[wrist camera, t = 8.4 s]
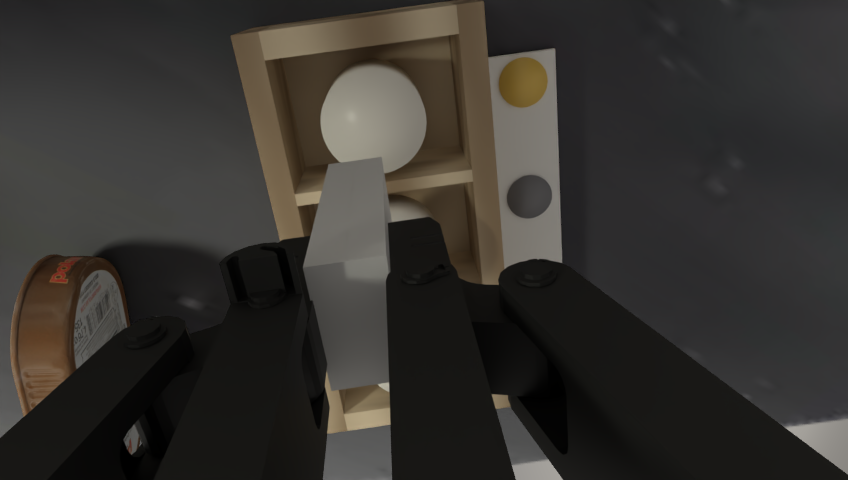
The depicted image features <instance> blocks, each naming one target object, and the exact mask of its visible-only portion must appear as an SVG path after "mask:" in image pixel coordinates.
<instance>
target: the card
mask: <svg viewBox="0 0 848 480" xmlns="http://www.w3.org/2000/svg"><path fill="white" fill-rule="evenodd" d="M488 62H489V75H490V88H491V101H492V114H493V127H494V140H495V153H496V166H497V179H498V192H499V205H500V218H501V231H502V244H503V257H504V269H505V268H507V267H508V266H510V265H513V264H516V263H518V262H522V261H528V260H529V259H537V260H539V259H547V260H550V261H555V262H560V263H562V241H561V211H560V180H559V149H558V119H557V88H556V58H555V49H554V48H550V49H543V50H536V51H528V52H521V53H514V54H507V55H499V56H492V57H488Z"/></svg>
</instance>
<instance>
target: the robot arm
mask: <svg viewBox="0 0 848 480" xmlns="http://www.w3.org/2000/svg"><path fill="white" fill-rule="evenodd" d="M219 265H220V268H221V272H222V275H223V278H224V282H225V285H226V289H227V292H228V295H229V299H230V302H231V305H230V307H229V310H228V312H227V314H226V317H225V319H224V321H223V323H222V324H219V325H217V326H214V327H211V328H208V329H205V330H202V331H198V332H195V333H192V334H189V333H188V330H187V327H186V324H185V321H183V320H182V319H180V318H179V317H172V316H163V317H150V318H146V320H145V319H143V320H140V321H137V322H135V323H134V324H133V325H131V326H129V327H127V328H125V329H123V330H122V331H120V332H119V333H117V334H116V335H115V336H113V337H112V338H111V339H110V340H109V341H107V342H106V343H105V344H104V345H103V346H102V347H101V348H100V349H99V350H97V351H96V352H95V353H94V354H93V355H92V356H91V357H90V358H89V359H87V360H86V361H85V362H84V363H83V364H82V365H81V366H80V367H79V368H78V369H76V370H75V371H74V372H73V373H72V374H71V375H70V376H69V377H68V378H66V379H65V380H64V381H63V382H62V383H61V384H60V385H59V386H58V387H56V388H55V389H54V390H53V391H52V392H51V393H50V394H49V395H48V396H46V397H45V398H44V399H43V400H42V401H41V402H40V403H39V404H38V405H36V406H35V407H34V408H33V409H32V410H31V411H30V412H29V413H28V414H27V415H25V416H24V417H23V418H22V419H21V420H20V421H19V422H18V423H17V424H15V425H14V426H13V427H12V428H11V429H10V430H9V431H8V432H7V433H5V434H4V435H3V436H2V437H1V438H0V480H323V471H324V461H325V451H326V441H327V431H328V421H329V411H330V406H329V401H328V397H327V393H326V388H325V380H326V372H327V374H328V379H329V383H330V387H331V391H335V390H342V389H348V388H355V387H361V386H368V385H375V384H381V383H388V382H389V393H390V423H391V453H392V480H516V479H515V476H514V472H513V469H512V465H511V461H510V458H509V454H508V451H507V447H506V444H505V440H504V436H503V433H502V429H501V426H500V422H499V419H498V415H497V412H496V408H495V404H494V401H493V397H492V394H497V395H508V401H509V403H510V406H511V408H512V410H513V411H514V413H515V414H516V415H517V417H518V418H519V419H520V421H521V422H522V424H523V425H524V426H525V428H526V429H527V430H528V432H529V433H530V435H531V436H532V437H533V439H534V440H535V441H536V443H537V444H538V446H539V447H540V448H541V450H542V451H543V452H544V454H545V455H546V457H547V458H548V459H549V461H550V462H551V463H552V465H553V466H554V468H555V469H556V470H557V472H558V473H559V474H560V476H561V477H562V479H563V480H848V475H847V474H846V473H845V472H843V471H842V470H841V469H839V468H838V467H837V466H835V465H834V464H833V463H831V462H830V461H829V460H827V459H826V458H825V457H823V456H822V455H821V454H819V453H818V452H816V451H815V450H814V449H812V448H811V447H810V446H809V445H807V444H806V443H805V442H803V441H802V440H800V439H799V438H798V437H797V436H795V435H794V434H792V433H791V432H790V431H788V430H787V429H786V428H784V427H783V426H782V425H780V424H779V423H778V422H776V421H775V420H774V419H772V418H771V417H770V416H768V415H767V414H766V413H764V412H763V411H762V410H760V409H759V408H758V407H756V406H755V405H754V404H752V403H751V402H750V401H748V400H747V399H746V398H744V397H743V396H742V395H740V394H739V393H738V392H736V391H735V390H734V389H732V388H731V387H730V386H728V385H727V384H726V383H724V382H723V381H722V380H720V379H719V378H718V377H716V376H715V375H714V374H712V373H711V372H709V371H708V370H707V369H705V368H704V367H703V366H701V365H700V364H699V363H697V362H696V361H695V360H693V359H692V358H691V357H689V356H688V355H687V354H685V353H684V352H683V351H681V350H680V349H679V348H677V347H676V346H675V345H673V344H672V343H671V342H669V341H668V340H667V339H665V338H664V337H663V336H661V335H660V334H659V333H657V332H656V331H655V330H653V329H652V328H651V327H649V326H648V325H647V324H645V323H644V322H643V321H641V320H640V319H639V318H637V317H636V316H635V315H633V314H632V313H630V312H629V311H628V310H626V309H625V308H624V307H622V306H621V305H620V304H618V303H617V302H616V301H614V300H613V299H612V298H610V297H609V296H608V295H606V294H605V293H604V292H602V291H601V290H600V289H598V288H597V287H596V286H594V285H593V284H592V283H590V282H589V281H588V280H586V279H585V278H584V277H582V276H581V275H580V274H578V273H577V272H576V271H574V270H573V269H572V268H570V267H568V266H566V265H564V264H562V263H560V262H555V261H550V260H547V259H539V260H537V259H529V260H528V261H522V262H518V263H516V264H513V265H510V266H508V267H507V268H505V269H504V270H503V271H502V272H500V275H499V278H498V283H499V285H486V284H476V283H472V282H468V281H465V280H463V279H461V278H459V277H458V273H457V270H456V269H455V267H454V266H453V265H452V264H451V262H450V259H449V255H448V251H447V248H446V244H445V240H444V237H443V233H442V229H441V226H440V223H438V222H437V221H435V220H433V219H432V218H430V217H424V218H417V219H410V220H403V221H396V222H392V219H391V212H390V206H389V200H388V193H387V187H386V181H385V174H384V168H383V162H382V157H377V158H370V159H363V160H356V161H349V162H341V163H334V164H329V165H328V169H327V173H326V177H325V181H324V185H323V189H322V193H321V197H320V201H319V205H318V209H317V213H316V217H315V221H314V225H313V229H312V233H311V236H304V237H297V238H291V239H284V240H281V241H280V242H279V243H276V242H275V243H262V244H257V245H253V246H248V247H246V248H243V249H240V250H238V251H235V252H233V253H232V254H230V255H228V256H227V257H225V258H224V259H223V260H222V261H221V262H220V263H219ZM133 425H135V427H136V430H137V432H138V435H139V437H140V440H141V442H142V444H141V445H140V447H139V448H138V449H137V450H136V452H134V453H133V454H132V455H131V454H130V453H129V451H128V449H127V447H126V445H125V442H124V438H125V436H126V434H127V433H128V431H129V430H130V429H131V428H132V426H133Z"/></svg>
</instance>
